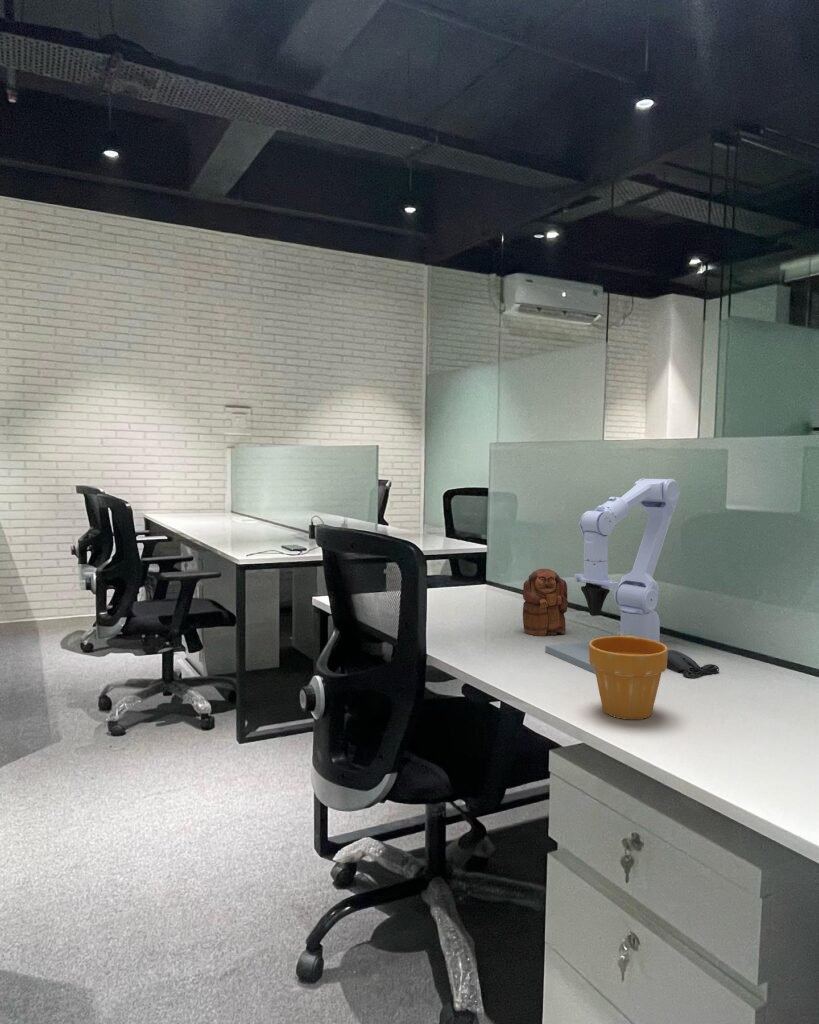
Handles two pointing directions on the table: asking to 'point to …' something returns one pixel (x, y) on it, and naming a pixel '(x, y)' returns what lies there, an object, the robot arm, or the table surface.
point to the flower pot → (627, 674)
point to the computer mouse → (688, 665)
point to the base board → (572, 653)
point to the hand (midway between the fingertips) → (595, 615)
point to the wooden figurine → (544, 603)
